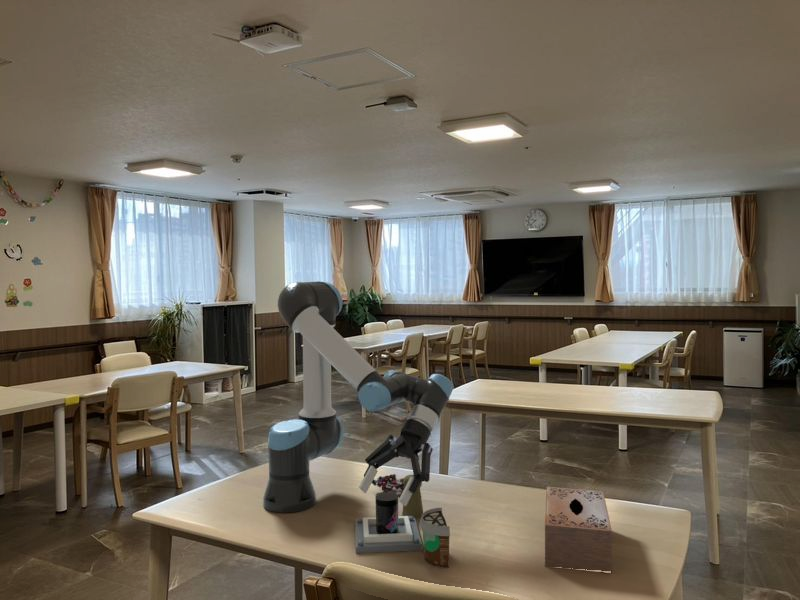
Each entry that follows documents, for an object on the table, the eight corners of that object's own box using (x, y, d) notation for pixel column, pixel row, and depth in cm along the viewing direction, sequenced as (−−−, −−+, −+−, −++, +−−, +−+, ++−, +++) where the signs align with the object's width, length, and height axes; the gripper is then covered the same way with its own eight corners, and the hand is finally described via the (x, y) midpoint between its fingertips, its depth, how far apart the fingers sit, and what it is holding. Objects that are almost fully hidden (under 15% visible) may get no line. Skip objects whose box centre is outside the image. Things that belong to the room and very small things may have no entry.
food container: (416, 547, 150) (416, 507, 149) (441, 546, 150) (441, 506, 150) (422, 572, 138) (422, 528, 137) (450, 570, 138) (449, 527, 138)
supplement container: (382, 538, 152) (382, 502, 151) (371, 530, 157) (371, 495, 156) (403, 533, 155) (402, 498, 154) (391, 525, 160) (391, 491, 159)
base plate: (355, 525, 163) (355, 514, 163) (415, 523, 164) (414, 512, 164) (355, 553, 147) (355, 540, 147) (421, 550, 148) (421, 538, 148)
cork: (421, 519, 167) (421, 480, 166) (399, 518, 168) (399, 478, 167) (425, 511, 173) (425, 473, 172) (404, 509, 174) (403, 471, 173)
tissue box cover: (611, 575, 136) (611, 531, 136) (544, 567, 140) (545, 524, 139) (602, 528, 161) (603, 491, 161) (546, 523, 165) (546, 486, 164)
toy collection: (364, 491, 185) (366, 476, 185) (382, 480, 199) (385, 466, 199) (409, 505, 180) (412, 489, 180) (425, 492, 193) (427, 478, 193)
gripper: (463, 441, 158) (427, 516, 148) (390, 426, 175) (354, 492, 164) (451, 425, 154) (413, 501, 143) (378, 411, 170) (339, 478, 160)
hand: (381, 496), depth 154 cm, fingers open, 13 cm apart
